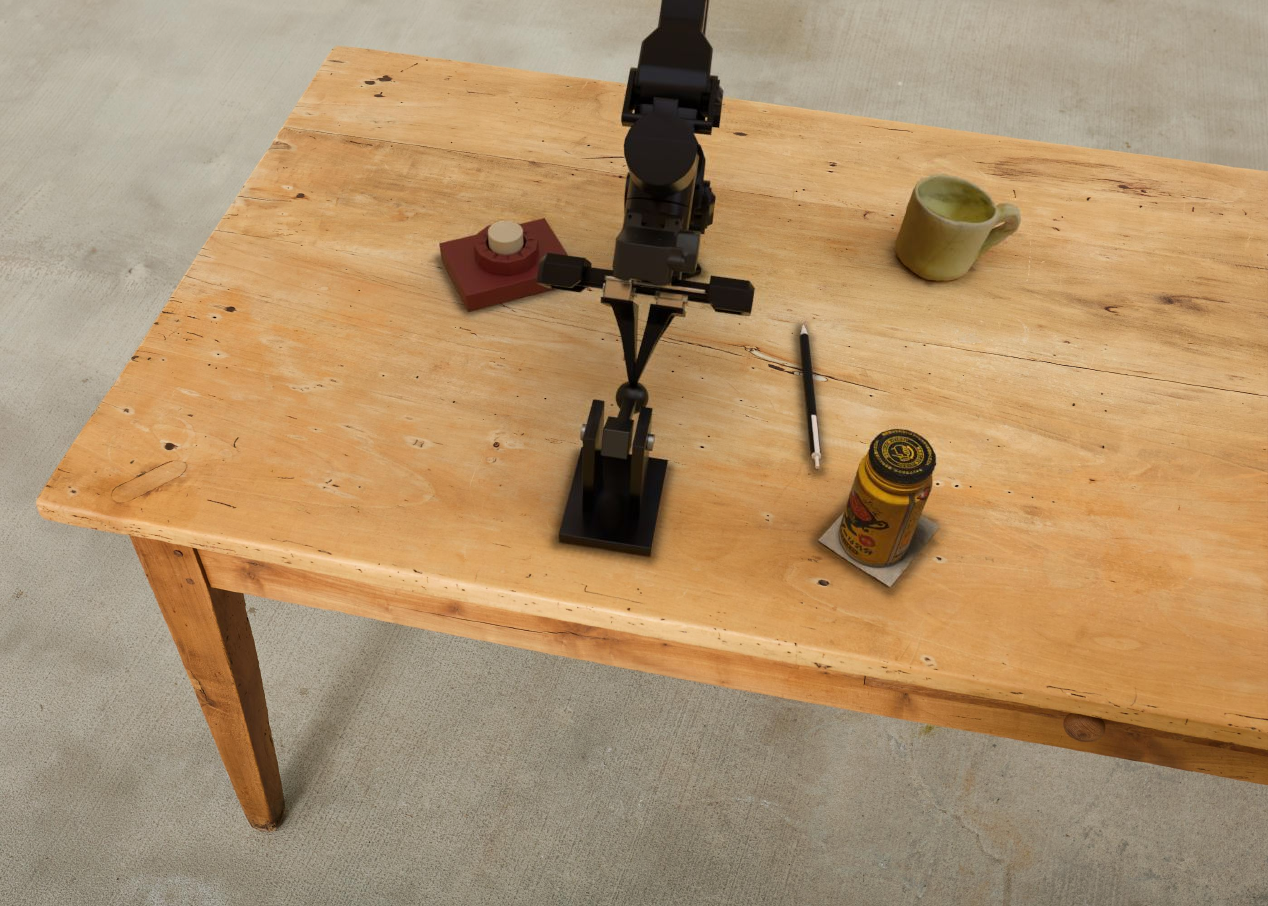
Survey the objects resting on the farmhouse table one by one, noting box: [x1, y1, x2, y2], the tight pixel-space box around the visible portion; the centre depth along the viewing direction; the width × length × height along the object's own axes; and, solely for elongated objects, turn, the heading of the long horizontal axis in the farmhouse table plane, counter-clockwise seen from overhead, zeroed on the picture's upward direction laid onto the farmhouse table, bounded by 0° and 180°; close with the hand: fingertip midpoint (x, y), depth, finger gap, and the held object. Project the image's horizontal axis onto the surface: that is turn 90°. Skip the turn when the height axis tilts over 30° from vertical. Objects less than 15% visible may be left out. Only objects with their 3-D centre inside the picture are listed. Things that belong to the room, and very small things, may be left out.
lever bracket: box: [558, 398, 669, 557], centre depth 89 cm, size 10×8×11 cm
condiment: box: [817, 428, 941, 588], centre depth 88 cm, size 7×8×12 cm
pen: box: [799, 324, 822, 470], centre depth 103 cm, size 1×19×1 cm, turn 178°
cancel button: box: [488, 220, 523, 255], centre depth 109 cm, size 4×4×2 cm
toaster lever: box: [601, 381, 650, 459], centre depth 91 cm, size 12×3×3 cm, turn 171°
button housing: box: [438, 217, 568, 313], centre depth 111 cm, size 12×9×4 cm
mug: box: [894, 173, 1022, 282], centre depth 114 cm, size 12×10×10 cm
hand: (633, 382), depth 93 cm, fingers closed, pressing on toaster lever
